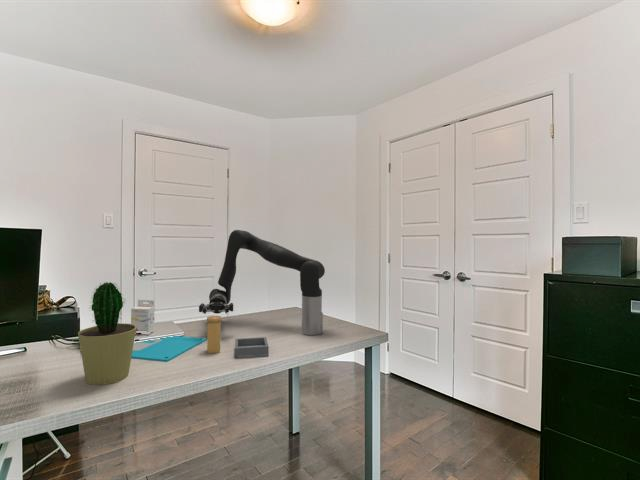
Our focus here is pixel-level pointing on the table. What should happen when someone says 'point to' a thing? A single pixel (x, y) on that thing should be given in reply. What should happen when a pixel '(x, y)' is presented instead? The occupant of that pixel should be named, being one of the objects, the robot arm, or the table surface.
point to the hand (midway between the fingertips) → (215, 311)
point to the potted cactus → (107, 339)
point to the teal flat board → (164, 348)
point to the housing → (251, 347)
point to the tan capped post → (213, 334)
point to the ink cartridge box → (143, 315)
